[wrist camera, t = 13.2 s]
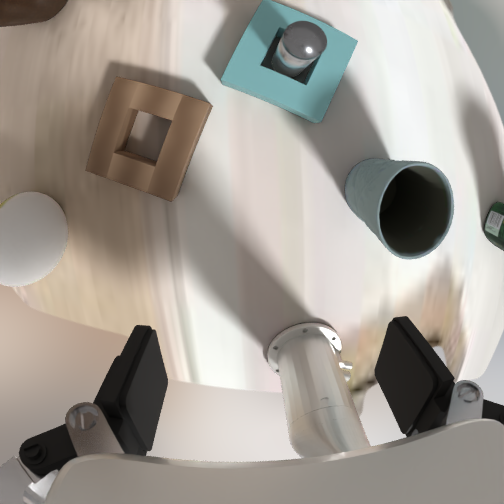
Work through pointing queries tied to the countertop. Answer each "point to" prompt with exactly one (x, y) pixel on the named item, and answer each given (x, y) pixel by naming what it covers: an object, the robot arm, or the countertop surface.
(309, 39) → the pin
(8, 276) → the decorative egg
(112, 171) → the mount block
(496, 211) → the coffee jar
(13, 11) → the plant pot
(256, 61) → the socket block
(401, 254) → the grey-blue cup
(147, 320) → the countertop surface
